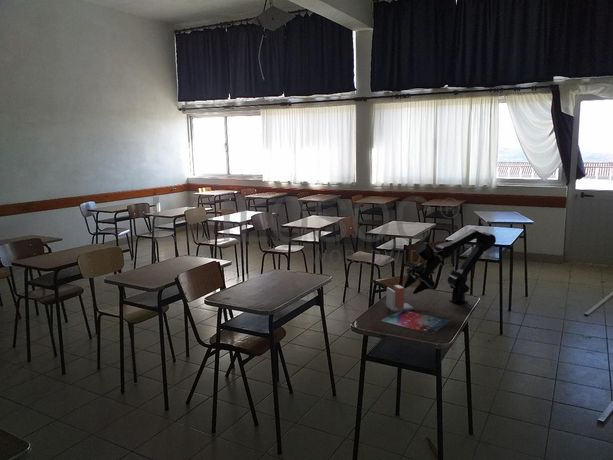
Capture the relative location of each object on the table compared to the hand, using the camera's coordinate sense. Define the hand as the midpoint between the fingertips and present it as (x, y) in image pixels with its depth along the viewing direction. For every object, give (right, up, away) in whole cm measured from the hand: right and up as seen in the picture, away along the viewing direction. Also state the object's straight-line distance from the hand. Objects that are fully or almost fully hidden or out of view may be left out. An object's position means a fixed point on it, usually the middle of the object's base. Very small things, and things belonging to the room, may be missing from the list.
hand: (408, 290), depth 229 cm
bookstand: (-4, -9, 0) cm, 10 cm away
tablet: (-1, -12, -16) cm, 20 cm away
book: (-5, -8, 0) cm, 9 cm away
